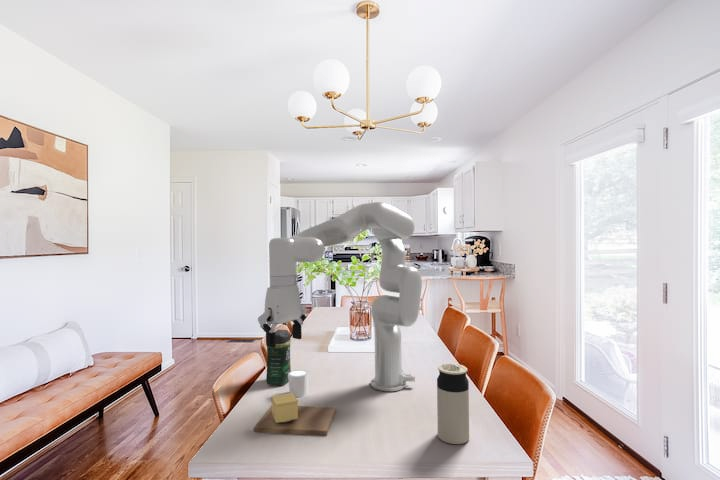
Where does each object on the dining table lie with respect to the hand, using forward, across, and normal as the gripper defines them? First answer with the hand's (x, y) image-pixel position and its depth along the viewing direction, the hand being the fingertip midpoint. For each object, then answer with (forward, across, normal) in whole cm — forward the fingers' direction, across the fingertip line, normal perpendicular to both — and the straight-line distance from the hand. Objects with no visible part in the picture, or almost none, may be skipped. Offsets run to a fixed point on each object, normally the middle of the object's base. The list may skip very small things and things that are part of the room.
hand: (284, 342), depth 106 cm
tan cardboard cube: (+21, 0, 0) cm, 21 cm away
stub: (+22, 0, 0) cm, 22 cm away
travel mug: (+23, -20, +41) cm, 52 cm away
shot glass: (+23, -17, -12) cm, 31 cm away
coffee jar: (+23, -20, -26) cm, 40 cm away
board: (+23, -3, +2) cm, 23 cm away
